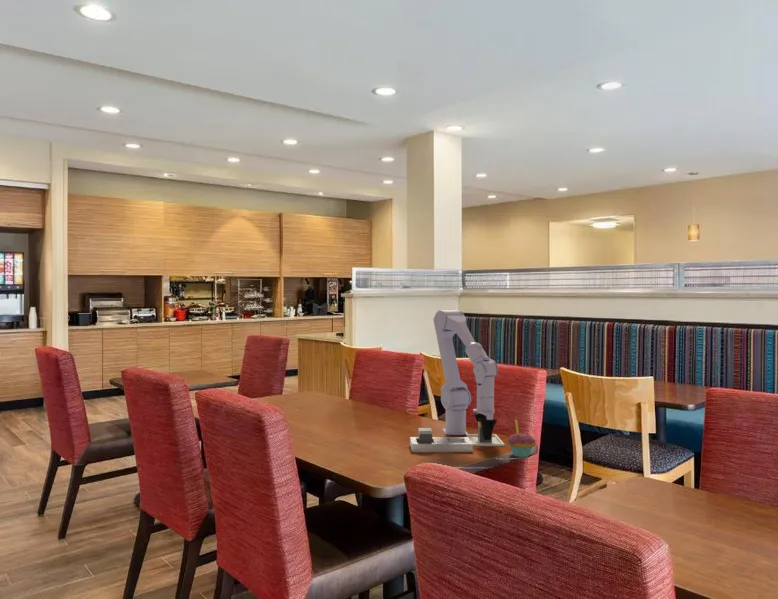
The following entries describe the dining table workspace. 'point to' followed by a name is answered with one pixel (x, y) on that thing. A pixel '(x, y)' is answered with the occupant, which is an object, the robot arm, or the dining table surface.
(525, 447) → the cupcake
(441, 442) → the pdu strip
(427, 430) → the twin plug
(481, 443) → the tray
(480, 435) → the plug
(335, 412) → the dining table surface
